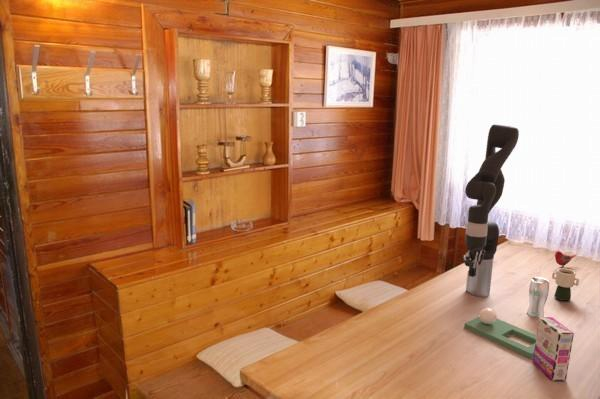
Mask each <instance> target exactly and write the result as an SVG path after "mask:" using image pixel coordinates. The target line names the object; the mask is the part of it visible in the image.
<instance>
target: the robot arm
mask: <svg viewBox="0 0 600 399" xmlns="http://www.w3.org/2000/svg"><path fill="white" fill-rule="evenodd" d="M519 133H520V131H519V129H518V127H516V126H512V125H505V124H504V125H503V124H492V125H491V126H490V128H489V130H488V135H487V142H486V150H485V158H484V160H483V162H482V164H481V165H480V168H479V170H478V172H477V173H476V174H475V175H473V177H472V178H470V180H469V181H468V182H467V184H466V186H465V190H464V192H465V195H466V196H465V197H467V198H468V199H471V200H477V202H476V204H475V205H471V206H469V207H468V208H469V209H468V213H467V214H468V216H467V223H466V228H465V235H464V236H465V237H464V244H465V246H466V251H465V254H462V255H461V258H462V261H463V263H464V265H465V267H468V271H467V276H466V283H465V284H466V287H465V292H466V291H467V292H468V293H469V295H470V294H471V295H472V296H476V297H484V298H485V297H488V296H489V295H490V293H491V292H490V291H491V284H492V275H493V268H494V258H495V257H494V256H495V254H496V252H497V248H498V242H499V238H500V228H499V225H498V224H497V223H496V222H495V221H494V220H489V215H490V212H491V211H492V209H493V208H494V207H495V206H496V205H497V203H498V202H499V201H500V199H501V197H502V195H503V192H504V186H505V182H506V180H505V176H504V174H503V171H502V168H503V165H505V163H506V161H507V160H508V158H509V156H510V155H511V154H512V153H513V151H514V150H515V148H516V146H517V143H518V141H519V135H520V134H519ZM497 148H498V149H499V150H498V151H496V149H497Z"/></svg>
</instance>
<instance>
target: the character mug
mask: <svg viewBox="0 0 600 399" xmlns="http://www.w3.org/2000/svg"><path fill="white" fill-rule="evenodd" d="M551 274H552V275H551V278H552V279H553V280H555V284H556V285H557V286H556V289H555V293H554V298H556V299H557V300H560V301H570V300H571V296H572V289H571V288H573V287H574V286H576V287H577V286H579V285H580V278H578V277H576V275H577V273H576V271H574V270H573V269H569V268H557V269H556V271H552V273H551Z"/></svg>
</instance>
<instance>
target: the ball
mask: <svg viewBox="0 0 600 399" xmlns="http://www.w3.org/2000/svg"><path fill="white" fill-rule="evenodd" d="M478 317H480V320H481V321H482V322H483V323H485V324H493V323H494V322H495V321H496V318H497V313H496V312H495V311H494V309H492V308H489V307H485V308H483V309H481V310H480V312H479V315H478Z"/></svg>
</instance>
